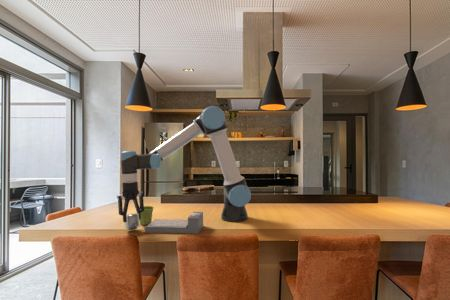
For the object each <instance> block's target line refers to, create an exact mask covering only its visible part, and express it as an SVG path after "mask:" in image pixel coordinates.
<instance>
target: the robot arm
mask: <svg viewBox="0 0 450 300" xmlns="http://www.w3.org/2000/svg"><path fill="white" fill-rule="evenodd" d="M228 129H229V128H228V125H227V122H226V115H225V113H224V111H223V109H221V108H220V107H219V106H215V105H211V106H207V107H205V108H204V109H203V111H202V112H201V113H200V114H199V115H198V117H196V118H194V119H193V121H192V123H190V124H189V125H187V126H185V128H184V129H181V131H179V132H178V133H176V134H175V135H173V136H172V137H171V138H169V139H168V140H166V141H164V142H163V143H162V144H160V145H159V146H157V147H156V148H155V149H152V150H151V151H150V152H149V153H146V154H138V153H137V151H135V150H126V151H122V152H121V153H120V164H121V168H120V169H121V182H122V184H121V186H122V191H121V194H119V195H117V196H116V198H117V200H118V201H117V203H118V205H117V209H118V215H119V216H122V221H123V222H122V223H124V228H125V229H129V225H128V216H127V215H128V210H129V209H128V208H129V205H130V204H129V203H130V201H132V202H133V204H134V208H135V210H136V212H135V213H134V214H137V227H138V228H139V227H140V221H139V219H141V215H140V214H141V212H142V211H144V206H145V205H144V203H145V202H144V195H145V192H143V191H139V183H138V177H139V176H138V170H151V169H153V170H156V169H160V168H161V167H162V162H163V161H164V160H165V159H167V158H168V157H170V156H171V155H173V154H174V153H176V152H177V151H179V150H180V149H181V148H183V147H184V146H186V145H187V144H189V143H190V142H191V141H193V140H195V139H197V137H199V136H200V135H205V134H206V136H207V137H208V138H210V141H211V143H212V147H213V149H214V152H215V155H216V157H217V161H218V164H219V167H220V170H221V172H222V175H223V178H224V180H223V202H224V203H223V208H222V211H221V215H220V217H221V220H222V221H225V222H234V223H235V222H243V221H246V220H247V219H248V216H249V215H248V211H247V208H246V206H247V204H248V203H249V202H250V201H251V198H252V193H251V190H250V188H249V187H248V185H247V182H246V179H245V177H244V176H242V175H241V173H240V170H239V167H238V164H237V161H236V158H235V155H234V152H233V149H232V146H231V143H230V141H229V136H228V135H227V131H228ZM138 196H139V197H138ZM123 198H124V204H123ZM137 198H139V201H138V199H137ZM139 207H140V208H139Z"/></svg>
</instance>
